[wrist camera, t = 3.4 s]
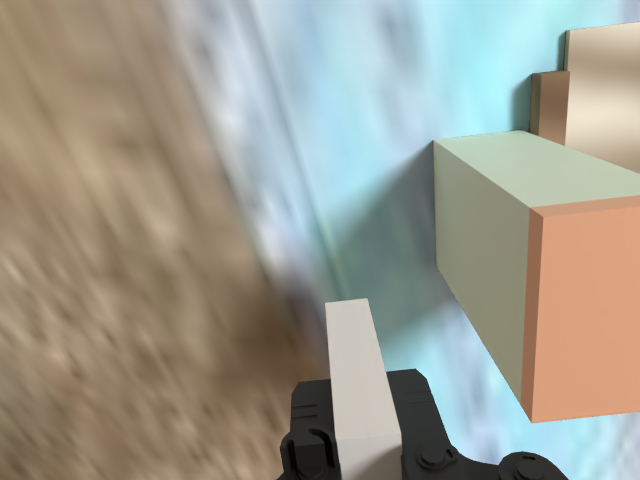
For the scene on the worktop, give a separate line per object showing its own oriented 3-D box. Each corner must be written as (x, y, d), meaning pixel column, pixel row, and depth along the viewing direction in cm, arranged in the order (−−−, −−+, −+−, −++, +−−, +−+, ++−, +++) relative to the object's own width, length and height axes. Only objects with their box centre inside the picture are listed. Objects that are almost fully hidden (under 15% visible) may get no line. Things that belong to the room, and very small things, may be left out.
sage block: (433, 139, 28) (543, 217, 15) (520, 129, 28) (706, 198, 15) (436, 266, 31) (531, 423, 18) (515, 257, 31) (668, 408, 18)
